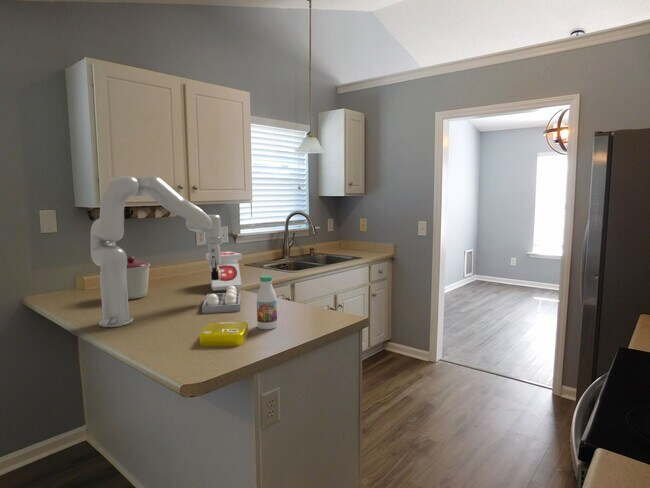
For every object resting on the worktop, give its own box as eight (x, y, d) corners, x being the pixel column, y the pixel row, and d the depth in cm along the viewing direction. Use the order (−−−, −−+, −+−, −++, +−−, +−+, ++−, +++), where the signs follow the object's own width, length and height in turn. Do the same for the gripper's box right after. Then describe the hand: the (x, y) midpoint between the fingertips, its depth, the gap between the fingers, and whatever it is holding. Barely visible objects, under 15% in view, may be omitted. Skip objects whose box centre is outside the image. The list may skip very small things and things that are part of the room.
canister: (159, 294, 221) (157, 254, 218) (135, 302, 203) (132, 259, 201) (130, 292, 225) (128, 253, 223) (104, 300, 208) (101, 258, 206)
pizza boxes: (209, 294, 219) (207, 260, 217) (206, 283, 247) (205, 252, 245) (246, 291, 224) (245, 258, 222) (240, 280, 253) (239, 250, 251)
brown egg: (220, 280, 201) (219, 266, 200) (210, 280, 200) (209, 267, 199) (221, 278, 205) (220, 265, 205) (211, 278, 205) (210, 265, 204)
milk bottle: (255, 325, 166) (254, 275, 164) (274, 322, 169) (273, 273, 167) (259, 331, 159) (258, 279, 157) (279, 328, 162) (278, 277, 159)
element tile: (249, 332, 159) (248, 320, 159) (242, 346, 144) (242, 333, 144) (209, 333, 159) (208, 320, 158) (198, 347, 144) (197, 334, 143)
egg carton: (240, 311, 187) (239, 294, 186) (202, 313, 184) (201, 296, 183) (241, 298, 210) (240, 283, 209) (207, 299, 207) (206, 285, 206)
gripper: (220, 242, 193) (222, 281, 195) (222, 238, 209) (224, 274, 212) (203, 243, 191) (205, 282, 194) (207, 239, 208) (209, 275, 210)
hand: (215, 278), depth 203 cm, fingers closed on brown egg, 4 cm apart
